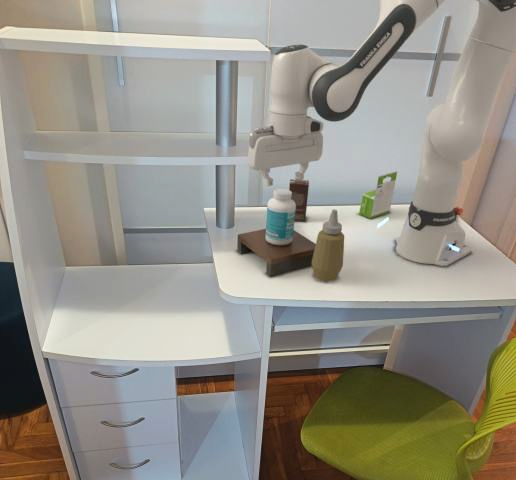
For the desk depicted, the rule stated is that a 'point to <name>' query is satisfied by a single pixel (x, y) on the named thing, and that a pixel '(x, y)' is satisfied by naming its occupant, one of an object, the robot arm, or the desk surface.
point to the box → (299, 197)
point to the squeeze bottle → (329, 250)
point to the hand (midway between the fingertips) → (284, 182)
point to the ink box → (378, 197)
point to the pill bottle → (280, 218)
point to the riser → (278, 251)
